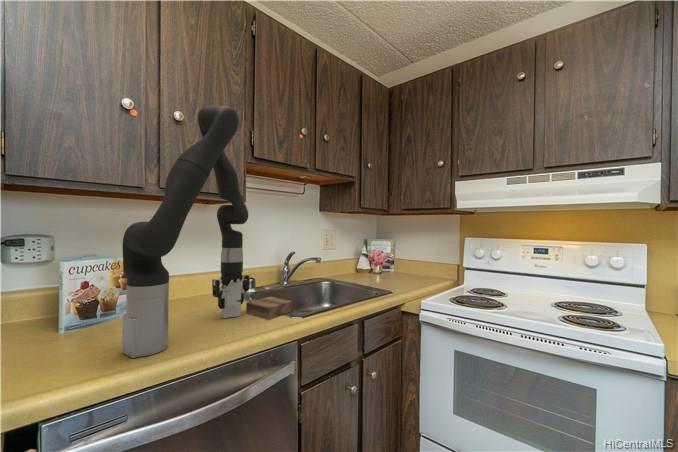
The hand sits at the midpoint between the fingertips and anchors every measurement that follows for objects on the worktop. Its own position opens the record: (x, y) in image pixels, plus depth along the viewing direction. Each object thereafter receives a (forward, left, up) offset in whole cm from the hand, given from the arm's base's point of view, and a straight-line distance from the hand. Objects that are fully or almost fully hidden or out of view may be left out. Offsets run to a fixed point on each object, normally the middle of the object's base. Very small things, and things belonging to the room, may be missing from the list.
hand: (231, 306), depth 104 cm
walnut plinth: (+11, -8, -4) cm, 14 cm away
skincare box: (0, 0, -4) cm, 4 cm away
